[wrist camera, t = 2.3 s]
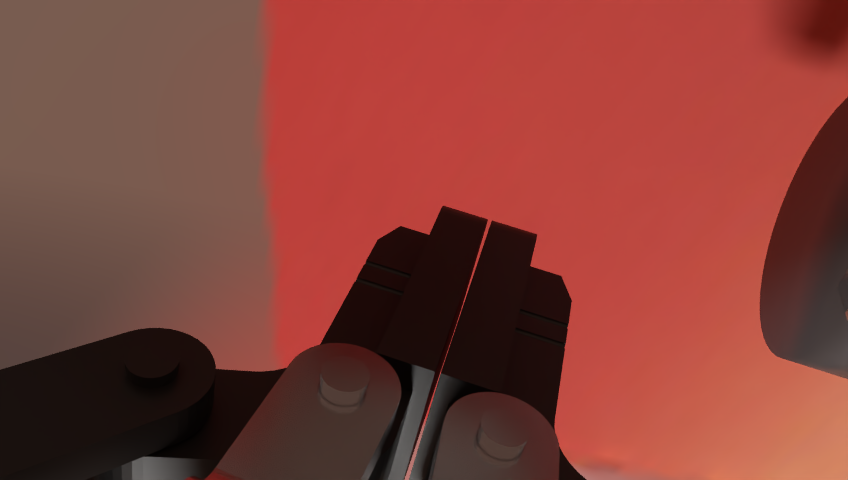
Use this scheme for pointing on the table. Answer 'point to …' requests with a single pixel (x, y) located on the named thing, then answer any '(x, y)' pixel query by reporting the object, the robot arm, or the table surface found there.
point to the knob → (811, 258)
